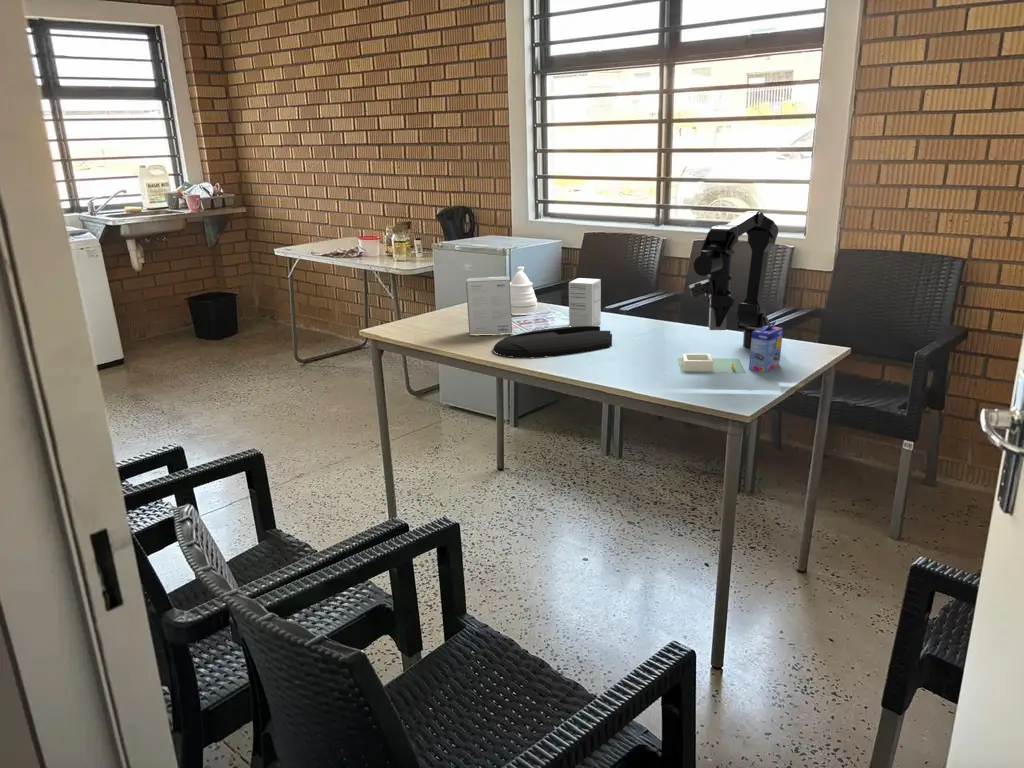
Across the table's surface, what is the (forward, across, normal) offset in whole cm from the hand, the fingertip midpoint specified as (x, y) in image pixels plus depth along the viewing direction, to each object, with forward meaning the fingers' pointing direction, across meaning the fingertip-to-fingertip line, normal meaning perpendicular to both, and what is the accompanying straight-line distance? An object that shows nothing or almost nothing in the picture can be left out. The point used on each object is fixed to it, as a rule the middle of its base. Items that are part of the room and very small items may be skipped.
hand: (717, 325), depth 220 cm
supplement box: (+12, -52, -42) cm, 67 cm away
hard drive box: (+13, -39, -74) cm, 85 cm away
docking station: (+13, -22, -51) cm, 57 cm away
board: (+12, +3, -2) cm, 13 cm away
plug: (+1, 0, 0) cm, 1 cm away
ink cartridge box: (+12, +4, +13) cm, 19 cm away
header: (+11, +6, -6) cm, 14 cm away
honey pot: (+12, -75, -68) cm, 102 cm away
